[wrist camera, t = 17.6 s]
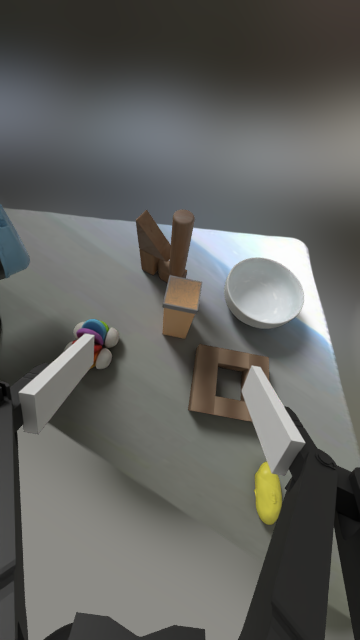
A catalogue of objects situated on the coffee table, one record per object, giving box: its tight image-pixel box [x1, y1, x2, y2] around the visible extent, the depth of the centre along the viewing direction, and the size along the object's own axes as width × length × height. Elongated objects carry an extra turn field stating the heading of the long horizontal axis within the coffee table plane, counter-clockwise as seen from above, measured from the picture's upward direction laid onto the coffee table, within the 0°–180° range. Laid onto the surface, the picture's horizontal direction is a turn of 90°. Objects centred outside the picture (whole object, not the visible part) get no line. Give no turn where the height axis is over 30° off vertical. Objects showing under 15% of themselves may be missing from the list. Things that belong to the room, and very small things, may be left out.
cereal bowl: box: [224, 258, 304, 329], centre depth 44 cm, size 17×17×7 cm
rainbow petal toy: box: [64, 319, 119, 369], centre depth 36 cm, size 8×10×7 cm
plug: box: [163, 275, 202, 339], centre depth 37 cm, size 5×5×14 cm
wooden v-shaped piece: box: [136, 210, 194, 283], centre depth 40 cm, size 4×11×18 cm, turn 61°
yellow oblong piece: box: [254, 462, 282, 525], centre depth 31 cm, size 4×8×4 cm, turn 165°
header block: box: [188, 344, 269, 422], centre depth 37 cm, size 14×12×4 cm
